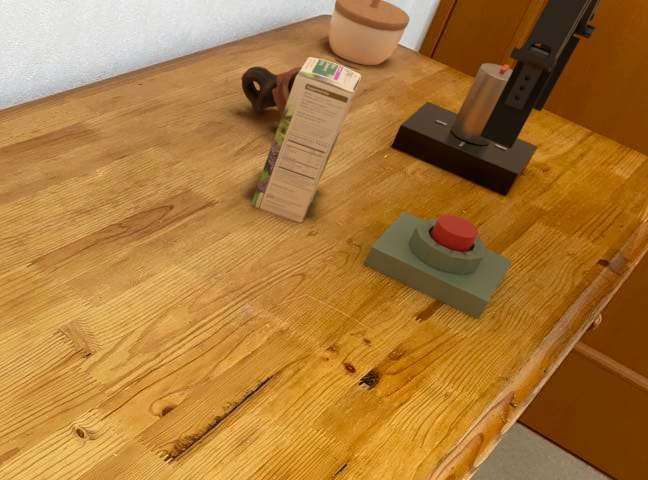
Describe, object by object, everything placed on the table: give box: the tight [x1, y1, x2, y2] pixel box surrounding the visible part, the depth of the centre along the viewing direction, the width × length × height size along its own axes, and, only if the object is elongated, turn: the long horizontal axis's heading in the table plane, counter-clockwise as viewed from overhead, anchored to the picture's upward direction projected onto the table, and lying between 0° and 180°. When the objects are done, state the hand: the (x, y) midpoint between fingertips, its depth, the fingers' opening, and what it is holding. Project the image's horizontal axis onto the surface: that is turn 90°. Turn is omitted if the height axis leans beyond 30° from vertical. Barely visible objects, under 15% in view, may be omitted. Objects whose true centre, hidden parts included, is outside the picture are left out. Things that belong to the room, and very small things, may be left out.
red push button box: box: [363, 210, 514, 320], centre depth 84 cm, size 12×10×4 cm
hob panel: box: [391, 101, 539, 197], centre depth 107 cm, size 15×11×3 cm
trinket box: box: [328, 0, 410, 71], centre depth 123 cm, size 11×11×9 cm
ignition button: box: [430, 214, 479, 252], centre depth 83 cm, size 4×4×2 cm
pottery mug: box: [241, 66, 303, 136], centre depth 103 cm, size 12×10×8 cm
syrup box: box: [250, 56, 363, 224], centre depth 85 cm, size 6×6×14 cm
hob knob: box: [451, 62, 513, 145], centre depth 103 cm, size 5×5×8 cm
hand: (512, 122), depth 75 cm, fingers open, 11 cm apart
